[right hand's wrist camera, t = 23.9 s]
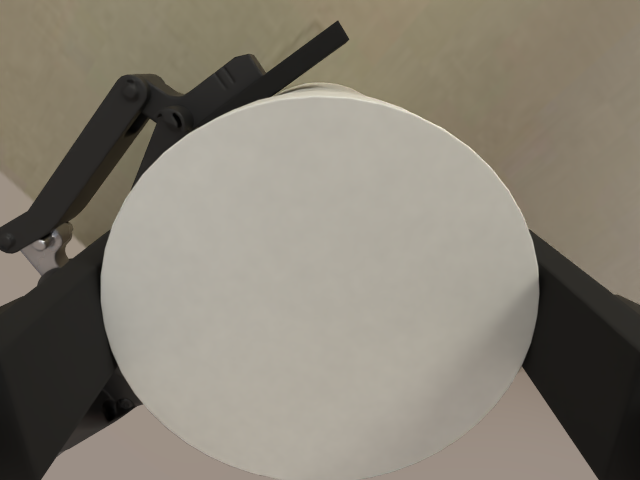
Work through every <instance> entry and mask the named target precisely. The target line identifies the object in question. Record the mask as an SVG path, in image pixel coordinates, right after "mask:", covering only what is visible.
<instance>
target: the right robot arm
mask: <svg viewBox="0 0 640 480" xmlns="http://www.w3.org/2000/svg"><path fill="white" fill-rule="evenodd" d="M528 230H529V229H528ZM110 232H111V229H110V230H109V231H108V232H106V233H105V234H104V235H103V236H101V237H100V238H99V239H97V240H96V241H95V242H93V243H92V244H91V245H90V246H88V247H87V248H86V249H84V250H83V251H82V252H81V253H79V254H78V255H77V256H75V257H74V258H73V259H71V260H70V261H69V262H68V263H66V264H65V265H64V266H62V267H61V268H60V269H59V270H57V271H56V272H55V273H53V274H52V275H51V276H49V277H48V278H47V279H46V280H44V281H43V282H42V283H40V284H39V285H38V286H37V287H35V288H34V289H33V290H31V291H30V292H29V293H28V294H26V295H25V296H22V297H20V298H18V299H16V300H14V301H11V302H9V303H7V304H5V305H3V306H1V307H0V480H41V479H42V477H43V476H44V474H45V473H46V471H47V470H48V469H49V467H50V466H51V464H52V463H53V461H54V460H55V458H56V457H57V455H58V454H59V452H60V451H61V449H62V448H63V446H64V445H65V443H66V442H67V440H68V439H69V438H70V436H71V435H72V433H73V432H74V430H75V429H76V427H77V426H78V424H79V423H80V421H81V420H82V418H83V417H84V415H85V414H86V412H87V411H88V409H89V408H90V406H91V405H92V404H93V402H94V401H95V399H96V398H97V396H98V395H99V393H100V392H101V390H102V389H103V387H104V386H105V384H106V383H107V381H108V380H109V378H110V377H111V375H112V374H113V372H114V371H115V370H116V368H117V367H118V364H117V362H116V360H115V357H114V355H113V353H112V351H111V348H110V344H109V341H108V338H107V334H106V331H105V327H104V321H103V315H102V308H101V270H102V264H103V258H104V251H105V247H106V244H107V241H108V238H109V235H110ZM529 232H530V235H531V238H532V240H533V245H534V249H535V254H536V259H537V264H538V274H539V293H540V294H539V304H538V314H537V320H536V324H535V329H534V333H533V337H532V341H531V344H530V347H529V349H528V352H527V354H526V356H525V359H524V361H523V364H522V367H523V368H524V370H525V371H526V373H527V374H528V376H529V377H530V379H531V380H532V382H533V383H534V385H535V386H536V388H537V389H538V391H539V392H540V394H541V395H542V396H543V398H544V399H545V401H546V402H547V404H548V405H549V407H550V408H551V410H552V411H553V413H554V414H555V416H556V417H557V419H558V420H559V422H560V423H561V425H562V426H563V428H564V429H565V431H566V432H567V433H568V435H569V436H570V438H571V439H572V441H573V442H574V444H575V445H576V447H577V448H578V450H579V451H580V453H581V454H582V456H583V457H584V459H585V460H586V462H587V463H588V465H589V466H590V467H591V469H592V470H593V472H594V473H595V475H596V476H597V478H598V479H599V480H640V305H639V304H637V303H634V302H632V301H630V300H628V299H626V298H624V297H621V296H619V295H614V294H612V293H611V292H610V291H608V290H607V289H606V288H604V287H603V286H602V285H601V284H599V283H598V282H597V281H595V280H594V279H593V278H592V277H590V276H589V275H588V274H586V273H585V272H584V271H582V270H581V269H580V268H579V267H577V266H576V265H575V264H573V263H572V262H571V261H570V260H568V259H567V258H566V257H564V256H563V255H562V254H560V253H559V252H558V251H557V250H555V249H554V248H553V247H551V246H550V245H549V244H548V243H546V242H545V241H544V240H542V239H541V238H540V237H538V236H537V235H536V234H535V233H533V232H532V231H531V230H529Z"/></svg>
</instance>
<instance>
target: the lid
mask: <svg viewBox="0 0 640 480" xmlns="http://www.w3.org/2000/svg"><path fill="white" fill-rule="evenodd" d="M539 294H540V293H539V274H538V264H537V259H536V254H535V249H534V245H533V240H532V238H531V235H530V232H529V230H528V227H527V224H526V222H525V219H524V216H523V214H522V212H521V211H520V209H519V207H518V205H517V203H516V202H515V200H514V198H513V196H512V195H511V193H510V191H509V190H508V188H507V187H506V186H505V185H504V183H503V182H502V181H501V179H500V178H499V177H498V176H497V174H496V173H495V172H494V170H493V169H492V168H491V167H490V166H489V165H488V164H487V163H486V162H485V161H484V160H483V159H482V158H481V157H480V156H478V155H477V154H476V153H475V152H474V151H473V150H472V149H471V148H470V147H469V146H468V145H466V144H465V143H463V142H462V141H460V140H459V139H458V138H456V137H455V136H453V135H452V134H450V133H449V132H447V131H446V130H445V129H443V128H441V127H439V126H437V125H435V124H433V123H431V122H429V121H427V120H425V119H423V118H421V117H419V116H417V115H415V114H413V113H411V112H409V111H407V110H405V109H403V108H401V107H399V106H396V105H393V104H390V103H387V102H384V101H381V100H378V99H375V98H372V97H367V96H362V95H356V94H351V93H346V92H329V91H308V92H297V93H286V94H282V95H278V96H274V97H269V98H265V99H261V100H257V101H255V102H252V103H250V104H247V105H244V106H242V107H239V108H237V109H234V110H232V111H230V112H228V113H226V114H223V115H221V116H219V117H217V118H215V119H214V120H212V121H210V122H208V123H207V124H205V125H203V126H201V127H199V128H198V129H196V130H194V131H192V132H190V133H189V134H187V135H186V136H185V137H183V138H182V139H181V140H179V141H178V142H177V143H176V144H174V145H173V146H172V147H170V148H169V149H168V150H166V151H165V152H164V153H163V154H162V155H161V156H160V157H159V158H158V159H157V160H156V161H155V162H154V163H153V164H152V165H151V166H150V167H149V168H148V169H147V170H146V171H145V172H144V173H143V175H142V176H141V177H140V179H139V180H138V182H137V183H136V184H135V186H134V187H133V189H132V190H131V191H130V193H129V194H128V196H127V197H126V199H125V201H124V203H123V205H122V207H121V209H120V211H119V213H118V215H117V217H116V219H115V221H114V223H113V225H112V228H111V232H110V235H109V238H108V241H107V244H106V247H105V251H104V258H103V264H102V270H101V308H102V315H103V321H104V327H105V331H106V334H107V338H108V341H109V344H110V348H111V351H112V353H113V355H114V357H115V360H116V362H117V364H118V366H119V368H120V371H121V373H122V374H123V376H124V377H125V379H126V381H127V382H128V384H129V385H130V387H131V389H132V390H133V392H134V393H135V395H136V396H137V397H138V398H139V399H140V401H141V402H142V403H143V404H144V406H145V407H146V408H147V409H148V410H149V412H150V413H151V414H152V415H153V416H155V417H156V418H157V419H158V420H159V421H160V422H161V423H162V424H163V425H164V426H165V427H166V428H167V429H168V430H170V431H171V432H172V433H174V434H175V435H176V436H178V437H179V438H180V439H182V440H183V441H184V442H186V443H187V444H189V445H190V446H192V447H194V448H195V449H197V450H199V451H200V452H202V453H204V454H205V455H207V456H209V457H211V458H213V459H216V460H218V461H220V462H222V463H224V464H227V465H229V466H232V467H234V468H237V469H240V470H243V471H246V472H249V473H252V474H256V475H260V476H265V477H269V478H273V479H280V480H359V479H365V478H372V477H375V476H379V475H383V474H386V473H390V472H394V471H397V470H400V469H402V468H405V467H408V466H410V465H413V464H416V463H418V462H420V461H422V460H424V459H426V458H428V457H430V456H432V455H434V454H436V453H438V452H440V451H441V450H443V449H444V448H446V447H448V446H449V445H451V444H452V443H454V442H455V441H457V440H458V439H460V438H461V437H462V436H464V435H465V434H466V433H467V432H468V431H470V430H471V429H472V428H473V427H475V426H476V425H477V424H478V423H479V422H480V421H481V420H482V419H483V418H484V417H485V416H486V415H487V414H488V413H489V412H490V411H491V410H492V409H493V408H494V407H495V406H496V404H497V403H498V402H499V400H500V399H501V398H502V396H503V395H504V394H505V392H506V391H507V390H508V388H509V387H510V385H511V384H512V382H513V380H514V378H515V377H516V375H517V373H518V371H519V370H520V368H521V366H522V364H523V361H524V359H525V356H526V354H527V352H528V349H529V347H530V344H531V341H532V337H533V333H534V329H535V324H536V320H537V314H538V304H539Z"/></svg>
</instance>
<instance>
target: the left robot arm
mask: <svg viewBox="0 0 640 480" xmlns="http://www.w3.org/2000/svg"><path fill="white" fill-rule="evenodd" d="M348 40H349V38H348V36H347V35H346V33H345V31H344V30H343V28H342V26H341V25H340V23H339V21H336V22H335V23H334V24H332V25H331V26H330V27H328V28H327V29H326V30H324V31H323V32H322V33H320V34H319V35H317V36H316V37H315V38H313V39H312V40H311V41H309V42H308V43H307V44H305V45H304V46H303V47H301V48H300V49H299V50H297V51H296V52H294V53H293V54H292V55H290V56H289V57H288V58H286V59H285V60H284V61H282V62H281V63H280V64H278V65H277V66H275V67H274V68H273V69H271V70H270V71H269V72H267V73H266V72H265V71H264V69H263V68H262V66H261V65H260V63H259V62H258V60H257V59H256V57H255V56H254V55H252V54H247V55H242V56H238V57H235V58H233V59H232V60H231V61H229V62H228V63H227V64H225V65H224V66H223V67H222V68H220V69H219V70H218V71H216V72H215V73H214V74H212V75H211V76H210V77H208V78H207V79H206V80H204V81H203V82H202V83H200V84H199V85H198V86H197V87H195V88H194V89H193V90H191V91H190V92H189V93H187V94H181V93H178V92H176V91H175V90H173V89H172V88H170V87H169V86H168V85H166V84H165V82H164V81H163V80H162V79H161V77H159V76H157V75H154V74H133V75H125V76H122V77H120V78H119V79H118V80H117V82H116V83H115V84H114V86H113V87H112V89H111V90H110V92H109V93H108V95H107V96H106V98H105V99H104V101H103V102H102V103H101V105H100V106H99V108H98V109H97V111H96V112H95V114H94V115H93V117H92V118H91V120H90V121H89V122H88V124H87V125H86V127H85V128H84V130H83V131H82V133H81V134H80V136H79V137H78V139H77V140H76V141H75V143H74V144H73V146H72V147H71V149H70V150H69V152H68V153H67V155H66V156H65V158H64V159H63V160H62V162H61V163H60V165H59V166H58V168H57V169H56V171H55V172H54V174H53V175H52V176H51V178H50V179H49V181H48V182H47V184H46V185H45V187H44V188H43V190H42V191H41V193H40V194H39V195H38V197H37V198H36V200H35V201H34V203H33V204H32V206H31V207H30V209H29V210H28V211H27V212H25V213H24V214H22V215H20V216H19V217H17V218H15V219H14V220H12V221H10V222H8V223H7V224H5V225H3V226H2V227H0V250H1V251H3V252H5V253H16V252H18V251H21V252H22V253H23V254H24V256H25V257H26V258H27V259H28V260H29V261H30V263H31V264H32V265H33V266H34V267H35V269H36V270H37V271H38V272H39V273H40V275H41V276H42V277H41V278H40V280H39V282H38V285H39V284H40V283H42V282H43V281H44V280H46V279H47V278H48V277H49V276H51V275H52V274H53V273H55V272H56V271H57V270H59V269H60V268H61V267H62V266H64V265H65V264H66V263H68V262H69V261H70V260H71V259H68V257H67V256H66V253H65V247H66V245H67V243H68V242H69V241H70V240H71V238H72V231H73V226H72V224H71V223H69V222H68V221H70V220H71V219H73V218H74V217H75V216H77V215H78V214H79V213H80V212H81V211H82V210H83V209H84V208H85V206H86V205H87V204H88V203H89V201H90V200H91V198H92V197H93V196H94V194H95V193H96V192H97V190H98V189H99V187H100V186H101V185H102V183H103V182H104V181H105V179H106V178H107V176H108V175H109V174H110V172H111V171H112V170H113V168H114V167H115V166H116V164H117V163H118V161H119V160H120V159H121V157H122V156H123V155H124V153H125V152H126V150H127V149H128V148H129V146H130V145H131V144H132V142H133V141H134V140H135V138H136V137H137V135H138V134H139V133H140V131H141V130H142V129H143V127H144V126H145V124H146V123H147V122H148V120H149V119H152V120H153V121H154V122H156V123H157V124H156V127H155V129H154V132H153V134H152V137H151V140H150V142H149V145H148V147H147V150H146V152H145V155H144V158H143V160H142V163H141V165H140V168H139V170H138V173H137V176H136V178H135V181H134V183H133V186H132V189H133V187H134V186H135V184H136V183H137V182H138V180H139V179H140V177H141V176H142V175H143V173H144V172H145V171H146V170H147V169H148V168H149V167H150V166H151V165H152V164H153V163H154V162H155V161H156V160H157V159H158V158H159V157H160V156H161V155H162V154H163V153H164V152H165V151H166V150H168V149H169V148H170V147H172V146H173V145H174V144H176V143H177V142H178V141H179V140H181V139H182V138H183V137H185V136H186V135H187V134H189V133H190V132H192V131H194V130H196V129H198V128H199V127H201V126H203V125H205V124H207V123H208V122H210V121H212V120H214V119H215V118H217V117H219V116H221V115H223V114H226V113H228V112H230V111H232V110H234V109H237V108H239V107H242V106H244V105H247V104H250V103H252V102H255V101H257V100H261V99H265V98H269V97H272V96H273V95H274V94H276V93H277V92H279V91H280V90H281V89H283V88H284V87H286V86H287V85H288V84H290V83H291V82H292V81H294V80H295V79H297V78H298V77H299V76H301V75H302V74H304V73H305V72H306V71H308V70H309V69H310V68H312V67H313V66H315V65H316V64H317V63H319V62H320V61H322V60H323V59H324V58H326V57H327V56H328V55H330V54H331V53H333V52H334V51H335V50H337V49H338V48H339V47H341V46H342V45H344V44H345V43H346V42H347V41H348ZM132 189H131V190H132ZM72 259H73V258H72ZM38 285H37V286H38ZM142 404H143V403H142V402H141V401H140V399H139V398H138V397H137V396H136V395H135V393H134V392H133V390H132V389H131V387H130V385H129V384H128V382H127V381H126V379H125V377H124V376H123V374H122V373H121V371H120V368H119V366H118V367H117V368H116V370H115V371H114V372H113V374H112V375H111V377H110V378H109V380H108V381H107V383H106V384H105V386H104V387H103V389H102V390H101V392H100V393H99V395H98V396H97V398H96V399H95V401H94V402H93V404H92V405H91V406H90V408H89V409H88V411H87V412H86V414H85V415H84V417H83V418H82V420H81V421H80V423H79V424H78V426H77V427H76V429H75V430H74V432H73V433H72V435H71V436H70V438H69V439H68V440H67V442H66V443H65V445H64V446H63V448H62V449H61V451H60V452H59V454H58V455H60V454H61V453H62V452H64V451H65V450H67V449H70V448H71V447H73V446H75V445H76V444H78V443H80V442H81V441H83V440H85V439H87V438H88V437H90V436H92V435H93V434H95V433H97V432H98V431H100V430H102V429H103V428H105V427H107V426H109V425H110V424H112V423H114V422H115V421H117V420H118V419H120V418H121V417H123V416H124V415H125V414H127V413H128V412H129V411H131V410H132V409H133V408H135V407H137V406H139V405H142ZM58 455H57V456H58Z"/></svg>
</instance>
